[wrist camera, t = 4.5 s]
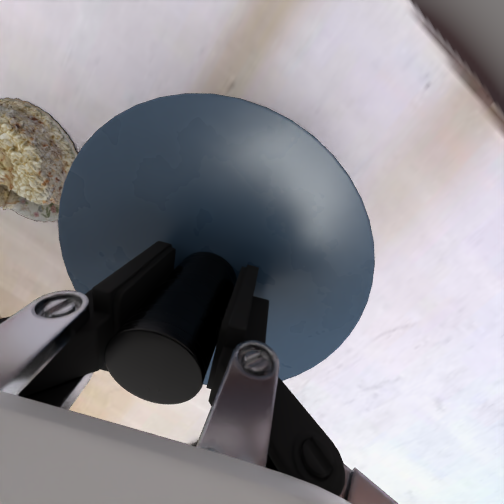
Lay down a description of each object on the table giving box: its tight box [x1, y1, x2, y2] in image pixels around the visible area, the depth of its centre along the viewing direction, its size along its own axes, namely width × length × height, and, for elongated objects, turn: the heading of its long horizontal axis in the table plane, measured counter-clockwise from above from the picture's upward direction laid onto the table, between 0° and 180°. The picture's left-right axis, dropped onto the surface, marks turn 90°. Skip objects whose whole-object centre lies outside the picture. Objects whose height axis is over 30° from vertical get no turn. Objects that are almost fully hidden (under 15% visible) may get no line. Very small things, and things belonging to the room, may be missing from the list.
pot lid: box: [58, 93, 375, 404], centre depth 9 cm, size 15×15×6 cm
